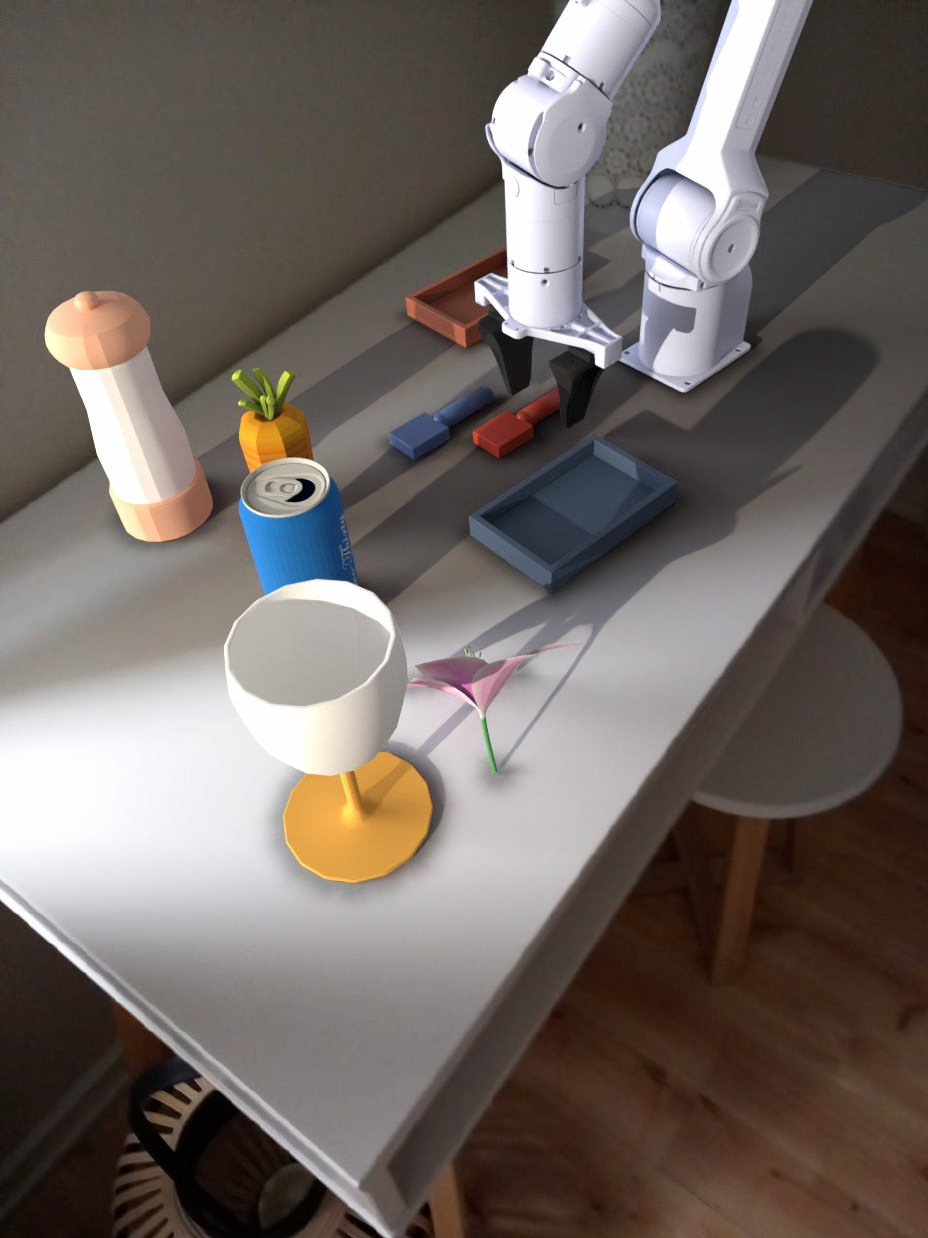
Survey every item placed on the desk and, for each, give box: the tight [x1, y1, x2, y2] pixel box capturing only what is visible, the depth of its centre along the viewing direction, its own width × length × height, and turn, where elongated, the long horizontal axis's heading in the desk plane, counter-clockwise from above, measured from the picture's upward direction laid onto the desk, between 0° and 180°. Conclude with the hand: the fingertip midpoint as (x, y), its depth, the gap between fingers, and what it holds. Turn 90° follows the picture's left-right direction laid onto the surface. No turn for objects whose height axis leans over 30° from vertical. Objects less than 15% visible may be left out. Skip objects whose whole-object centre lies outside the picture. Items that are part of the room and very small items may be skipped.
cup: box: [223, 579, 434, 884], centre depth 53 cm, size 9×9×16 cm
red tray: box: [405, 245, 508, 349], centre depth 96 cm, size 14×9×2 cm, turn 132°
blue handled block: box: [388, 385, 495, 461], centre depth 83 cm, size 10×3×2 cm, turn 132°
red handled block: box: [472, 387, 560, 459], centre depth 83 cm, size 10×3×2 cm, turn 132°
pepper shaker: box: [44, 290, 214, 543], centre depth 71 cm, size 7×7×19 cm
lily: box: [406, 641, 583, 774], centre depth 60 cm, size 12×12×10 cm
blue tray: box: [468, 433, 679, 593], centre depth 74 cm, size 14×9×2 cm, turn 132°
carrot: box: [231, 367, 315, 474], centre depth 70 cm, size 5×5×15 cm
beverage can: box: [238, 458, 360, 596], centre depth 65 cm, size 6×6×12 cm
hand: (545, 404), depth 83 cm, fingers open, 6 cm apart
